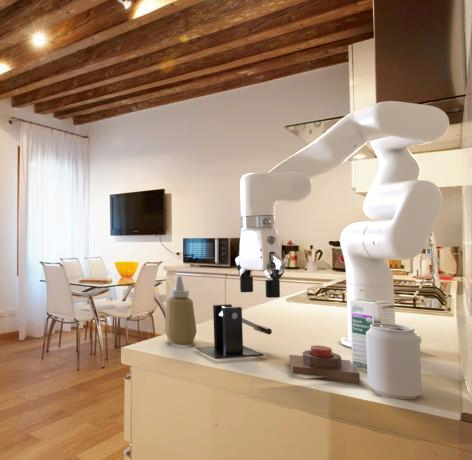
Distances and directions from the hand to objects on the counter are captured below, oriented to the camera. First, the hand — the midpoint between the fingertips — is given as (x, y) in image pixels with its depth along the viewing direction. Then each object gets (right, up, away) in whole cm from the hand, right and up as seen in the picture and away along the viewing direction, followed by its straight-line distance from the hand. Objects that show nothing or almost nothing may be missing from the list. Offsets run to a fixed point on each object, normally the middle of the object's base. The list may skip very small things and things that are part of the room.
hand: (259, 294), depth 100 cm
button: (+5, -10, -16) cm, 19 cm away
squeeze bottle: (-16, -15, +9) cm, 24 cm away
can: (+11, -14, -26) cm, 32 cm away
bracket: (-8, -14, -1) cm, 16 cm away
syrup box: (+17, -14, -14) cm, 26 cm away
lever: (-4, -7, -1) cm, 9 cm away
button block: (+5, -14, -16) cm, 21 cm away
